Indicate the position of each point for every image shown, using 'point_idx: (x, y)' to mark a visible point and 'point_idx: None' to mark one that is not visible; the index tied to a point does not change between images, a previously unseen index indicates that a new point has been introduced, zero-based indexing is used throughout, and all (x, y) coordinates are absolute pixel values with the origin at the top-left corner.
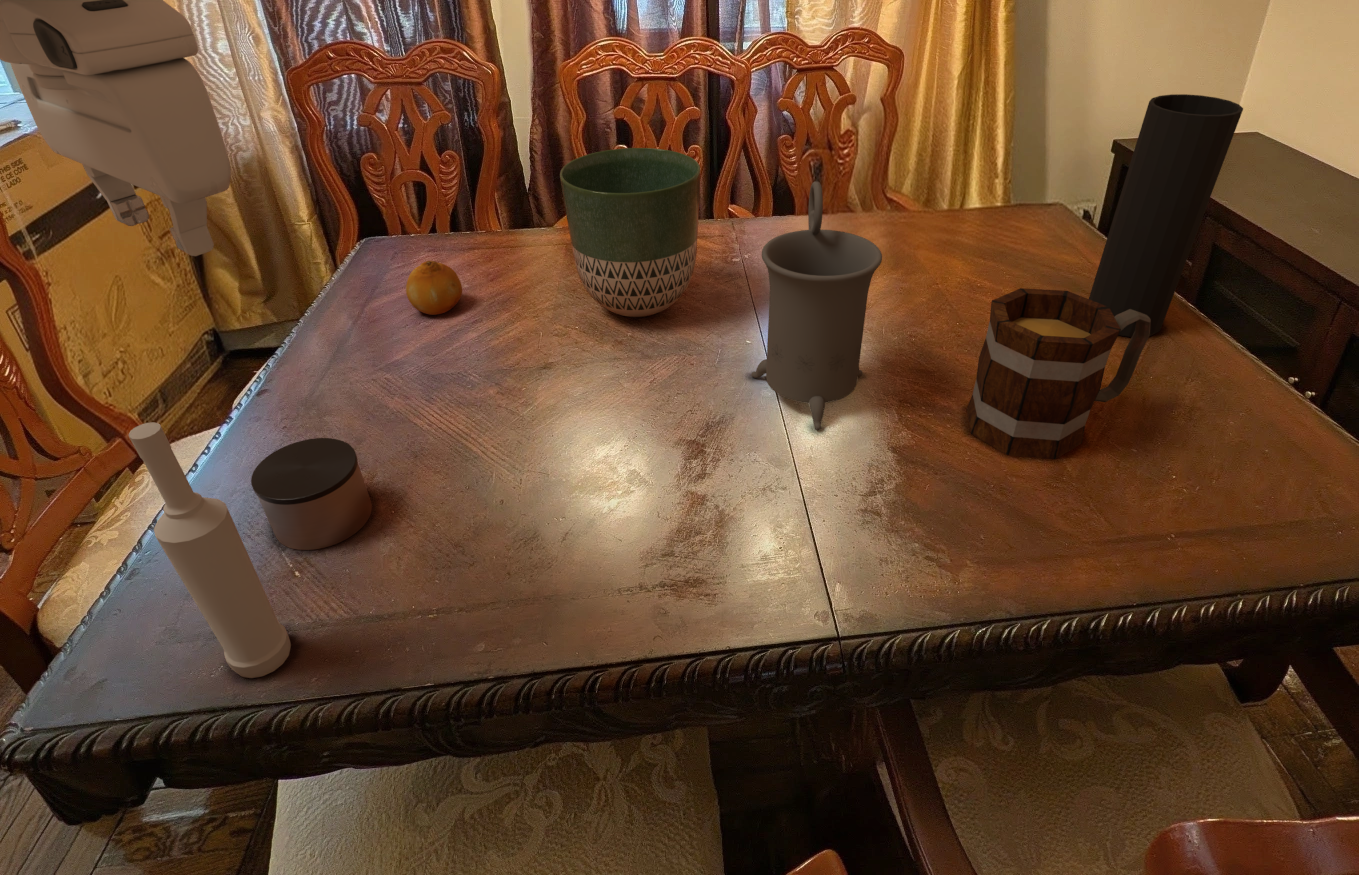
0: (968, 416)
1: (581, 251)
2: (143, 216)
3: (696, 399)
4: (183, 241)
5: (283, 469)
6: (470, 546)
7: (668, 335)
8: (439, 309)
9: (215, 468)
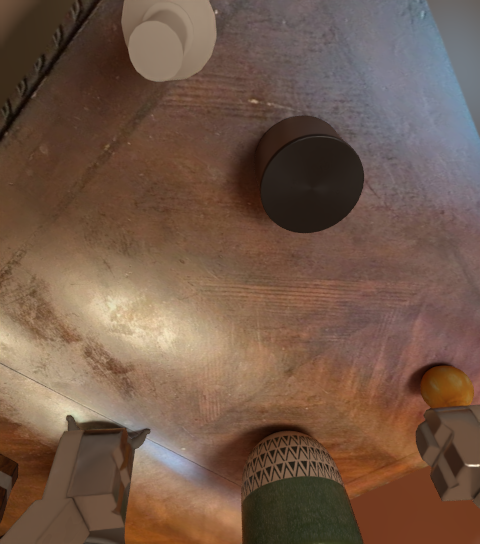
0: (10, 461)
1: (312, 478)
2: (422, 443)
3: (161, 399)
4: (51, 470)
5: (329, 173)
6: (156, 216)
7: (237, 430)
8: (426, 375)
9: (462, 137)
